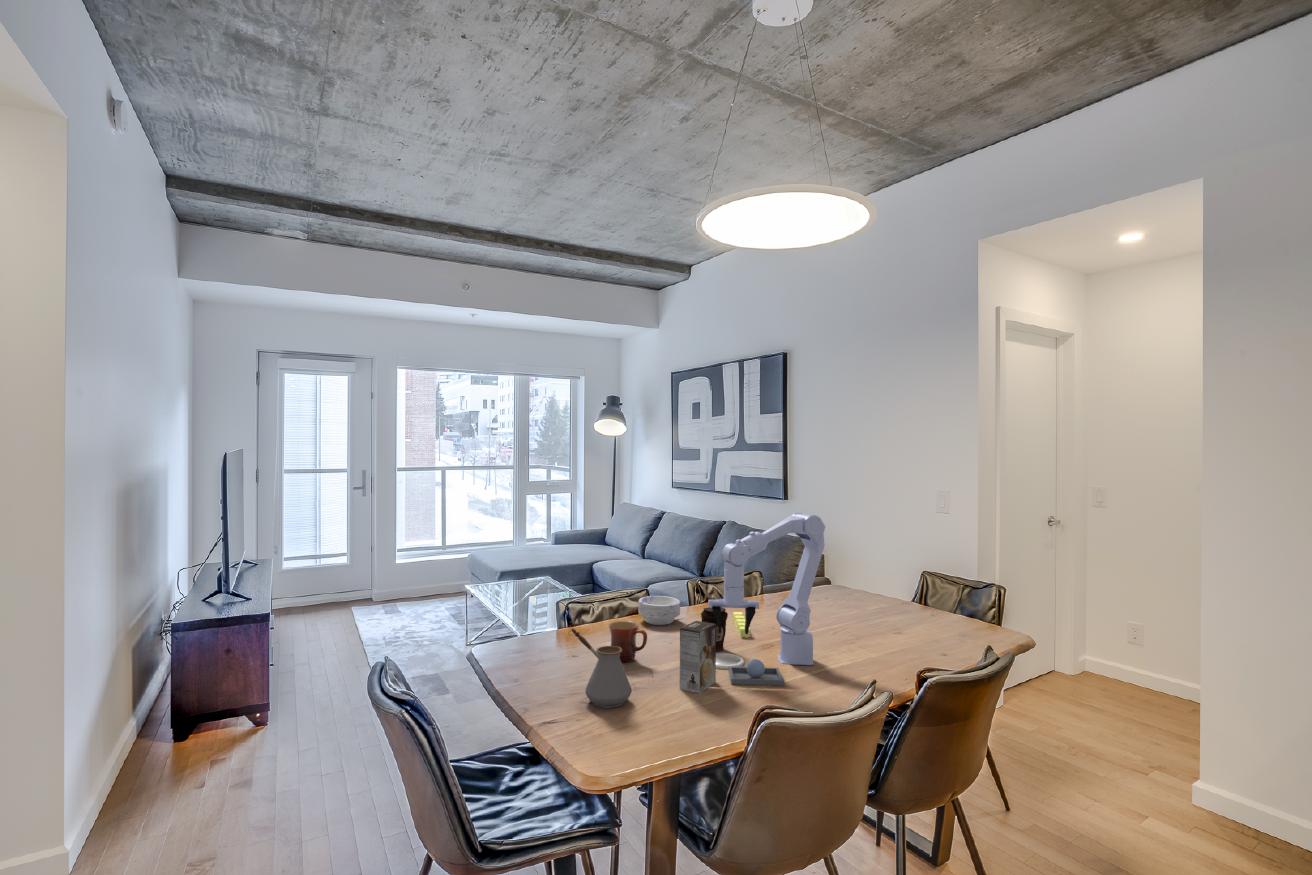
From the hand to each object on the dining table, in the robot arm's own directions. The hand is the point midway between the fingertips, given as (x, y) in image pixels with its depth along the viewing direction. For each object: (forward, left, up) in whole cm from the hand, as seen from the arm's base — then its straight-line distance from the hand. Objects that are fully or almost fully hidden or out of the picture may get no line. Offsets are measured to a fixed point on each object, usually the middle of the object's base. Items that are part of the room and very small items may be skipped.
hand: (733, 632), depth 188 cm
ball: (-5, +10, -9) cm, 15 cm away
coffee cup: (+5, -15, -10) cm, 19 cm away
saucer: (+3, -3, -10) cm, 11 cm away
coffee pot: (+37, +25, -10) cm, 45 cm away
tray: (-5, +10, -10) cm, 15 cm away
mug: (+31, -3, -10) cm, 32 cm away
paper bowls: (+23, -47, -10) cm, 53 cm away
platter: (-8, -42, -11) cm, 44 cm away
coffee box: (+11, +16, -10) cm, 22 cm away
